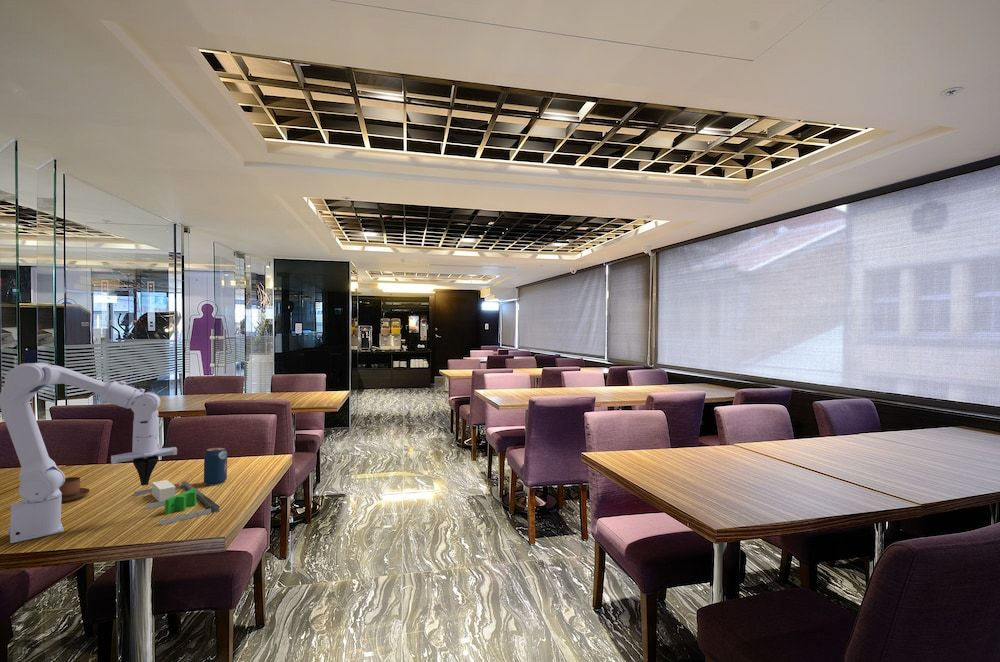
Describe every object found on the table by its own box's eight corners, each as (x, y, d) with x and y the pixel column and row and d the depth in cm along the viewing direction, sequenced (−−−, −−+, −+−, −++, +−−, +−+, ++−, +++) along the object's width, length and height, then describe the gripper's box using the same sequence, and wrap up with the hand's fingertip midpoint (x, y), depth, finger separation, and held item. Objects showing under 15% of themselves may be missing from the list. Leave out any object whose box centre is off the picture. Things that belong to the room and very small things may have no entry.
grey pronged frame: (160, 525, 123) (160, 519, 123) (134, 495, 148) (134, 490, 148) (219, 511, 133) (219, 506, 133) (185, 485, 158) (185, 481, 158)
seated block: (159, 502, 140) (160, 489, 141) (151, 494, 148) (152, 482, 148) (175, 499, 143) (175, 486, 144) (166, 491, 151) (167, 479, 151)
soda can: (230, 482, 162) (231, 448, 162) (209, 487, 156) (210, 451, 156) (220, 479, 166) (221, 445, 166) (199, 483, 160) (200, 449, 160)
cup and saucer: (37, 500, 144) (37, 480, 144) (88, 491, 152) (88, 472, 152) (36, 509, 135) (37, 488, 135) (90, 500, 144) (91, 480, 144)
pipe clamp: (176, 515, 131) (176, 500, 131) (164, 514, 131) (165, 499, 131) (203, 502, 141) (203, 488, 141) (192, 502, 141) (192, 488, 142)
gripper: (114, 441, 120) (113, 493, 120) (180, 434, 131) (179, 481, 131) (110, 438, 125) (109, 488, 125) (173, 431, 136) (172, 477, 135)
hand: (144, 484), depth 128 cm, fingers closed
